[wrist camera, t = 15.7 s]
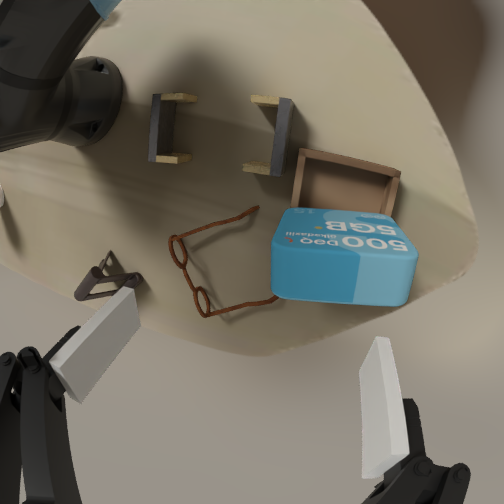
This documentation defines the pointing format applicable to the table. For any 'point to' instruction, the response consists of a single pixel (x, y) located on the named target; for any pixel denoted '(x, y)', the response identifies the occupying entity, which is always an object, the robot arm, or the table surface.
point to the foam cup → (1, 196)
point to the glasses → (195, 290)
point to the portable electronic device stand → (98, 277)
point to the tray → (343, 183)
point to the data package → (341, 258)
